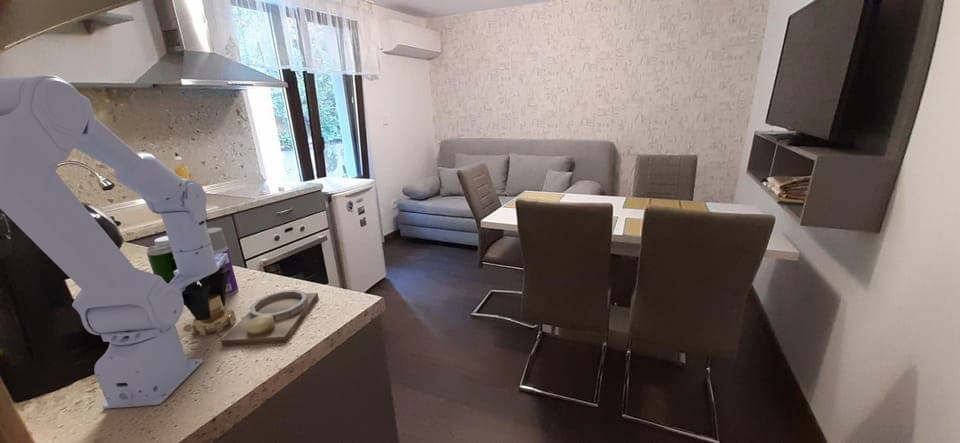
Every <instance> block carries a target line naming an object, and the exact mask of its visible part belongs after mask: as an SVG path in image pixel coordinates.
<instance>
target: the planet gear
mask: <svg viewBox="0 0 960 443" xmlns="http://www.w3.org/2000/svg"><path fill="white" fill-rule="evenodd" d="M208 304H209V309H210V318H209V319H208V320H196V318H195V317H194V318H193V319H192V322H193V323H190V326H191V329H192V333H193V334H194V335H200V337H205V336H209V335H213V334H216V333H217V334H218V333H221V332H223V331H224V330H227V329H228V328H229V327H231V326H233V325H234V324H235V320H236V315H235V310H234V309H233V308H231V309H229V308H226V307H224V306H223V304H222V301H221V297H220V294H218V293H211V294H208Z"/></svg>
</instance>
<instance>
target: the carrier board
mask: <svg viewBox="0 0 960 443" xmlns="http://www.w3.org/2000/svg"><path fill="white" fill-rule="evenodd" d="M318 298H319V294H318V292H305V291H303V290H302V291H301V290H298V289H285V290H281V291H277V292H276V291H275V292H273V293H270V294H267V295H265V296H263V297H261V298H258V299H257V300H256V301H254V302H253V303H252V304H251V305H250V307H249V310H250V311H249V312H248V313H246V315H245V316H243V318H241V320H239V322H238V323H237V324H236V325H235V326H234V327H233V328H232V329H230V331H229V332H228V333H227V334H226V335H225V336H224V337H223V338H222V339H221V340H220V343H221V346H222V347H230V346H231V347H233V346H247V345H248V346H250V345H263V344H264V345H266V344H278V343H279V344H280V343H282V344H283V343H287V342H288V340H289V339H290V338H291V336H292V334H294V332H295V330H296V329H297V328H298V326H299V325H300V324H301V322H302V321H303V320H304V318H305V317H306V315H307V314H308V313H309V311H310V310H311V309H312V307H313V306H314V305H315V303H316V302H317V300H318Z"/></svg>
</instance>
